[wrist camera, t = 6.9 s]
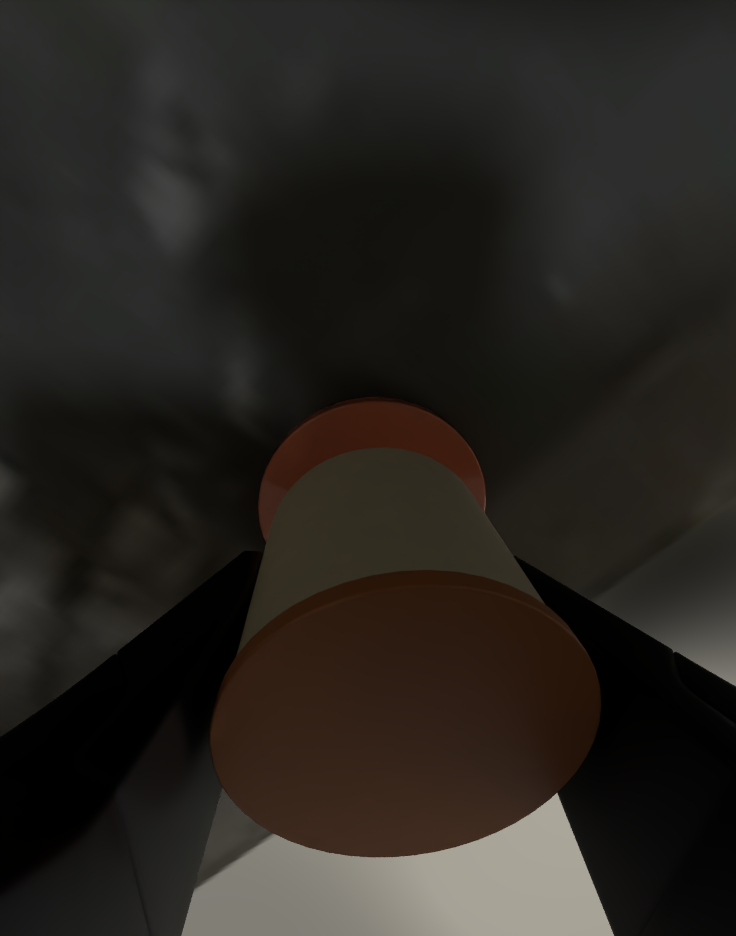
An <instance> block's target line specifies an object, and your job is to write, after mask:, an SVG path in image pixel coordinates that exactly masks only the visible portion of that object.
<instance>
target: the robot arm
mask: <svg viewBox="0 0 736 936" xmlns="http://www.w3.org/2000/svg"><path fill="white" fill-rule="evenodd" d="M263 554H264V552H263V551H244V552H242V553H241V554H240V555H238V556H237V557H236V558H235V559H233V560H232V561H231V562H230V563H228V564H227V565H226V566H225V567H223V568H222V569H221V570H219V571H218V572H217V573H216V574H214V575H213V576H212V577H211V578H209V579H208V580H207V581H206V582H204V583H203V584H202V585H201V586H199V587H198V588H197V589H196V590H194V591H193V592H192V593H191V594H189V595H188V596H187V597H185V598H184V599H183V600H182V601H180V602H179V603H178V604H177V605H175V606H174V607H173V608H172V609H170V610H169V611H168V612H167V613H165V614H164V615H163V616H162V617H160V618H159V619H158V620H157V621H155V622H154V623H153V624H151V625H150V626H149V627H148V628H146V629H145V630H144V631H143V632H141V633H140V634H139V635H138V636H136V637H135V638H134V639H133V640H131V641H130V642H129V643H128V644H126V645H125V646H124V647H123V648H121V649H120V650H119V651H118V652H117V655H116V654H114V655H112V656H111V657H110V658H108V659H107V660H106V661H105V662H103V663H102V664H101V665H100V666H98V667H97V668H96V669H95V670H93V671H92V672H91V673H89V674H88V675H87V676H85V677H84V678H83V679H81V680H80V681H79V682H77V683H76V684H75V685H74V686H72V687H71V688H70V689H68V690H67V691H66V692H64V693H63V694H62V695H60V696H59V697H57V698H56V699H54V700H53V701H52V702H50V703H49V704H47V705H46V706H45V707H43V708H42V709H40V710H39V711H37V712H36V713H35V714H33V715H32V716H30V717H29V718H27V719H26V720H25V721H23V722H22V723H20V724H19V725H17V726H16V727H14V728H13V729H11V730H10V731H8V732H7V733H6V734H4V735H3V736H1V737H0V936H181V934H182V931H183V927H184V924H185V920H186V916H187V913H188V909H189V905H190V902H191V898H192V895H193V891H194V887H195V884H196V880H197V876H198V873H199V869H200V865H201V862H202V858H203V855H204V851H205V847H206V844H207V840H208V836H209V833H210V829H211V825H212V822H213V818H214V815H215V811H216V807H217V804H218V800H219V796H220V793H221V789H222V785H221V784H220V782H219V779H218V777H217V774H216V772H215V770H214V767H213V763H212V758H211V753H210V748H209V727H210V722H211V717H212V712H213V708H214V704H215V701H216V697H217V694H218V691H219V689H220V686H221V683H222V681H223V678H224V676H225V674H226V672H227V670H228V669H229V667H230V665H231V664H232V662H233V661H234V659H235V657H236V655H237V651H238V647H239V644H240V640H241V636H242V632H243V629H244V625H245V621H246V617H247V614H248V610H249V606H250V602H251V599H252V595H253V591H254V587H255V584H256V580H257V576H258V572H259V569H260V565H261V561H262V557H263ZM513 557H514V558H515V560H516V561H517V563H518V564H519V566H520V567H521V569H522V570H523V572H524V573H525V575H526V576H527V578H528V579H529V581H530V582H531V584H532V585H533V587H534V588H535V590H536V591H537V593H538V594H539V596H540V597H541V599H542V600H543V602H544V603H545V605H546V606H548V607H549V608H551V609H552V610H553V611H554V612H555V613H556V614H557V615H558V616H559V617H560V618H561V619H562V620H563V621H564V622H566V624H567V625H568V626H569V628H570V629H571V630H572V632H573V633H574V634H575V636H576V637H577V638H578V640H579V641H580V643H581V644H582V646H583V647H584V648H585V650H586V651H587V653H588V655H589V657H590V659H591V661H592V663H593V665H594V667H595V669H596V673H597V677H598V681H599V684H600V690H601V714H600V723H599V726H598V730H597V733H596V736H595V740H594V742H593V744H592V746H591V748H590V750H589V752H588V754H587V756H586V758H585V759H584V761H583V762H582V764H581V765H580V767H579V768H578V770H577V771H576V773H575V774H574V775H573V776H572V777H571V778H570V780H569V781H568V782H567V783H566V784H565V785H564V786H563V787H562V788H561V789H560V790H559V791H558V792H557V793H558V796H559V798H560V801H561V803H562V806H563V808H564V811H565V813H566V816H567V818H568V821H569V823H570V826H571V828H572V831H573V833H574V836H575V838H576V841H577V843H578V846H579V848H580V851H581V854H582V856H583V858H584V861H585V863H586V866H587V869H588V871H589V874H590V876H591V879H592V881H593V884H594V886H595V888H596V891H597V894H598V896H599V899H600V901H601V903H602V906H603V909H604V911H605V914H606V916H607V919H608V921H609V924H610V926H611V929H612V931H613V934H614V936H736V686H734V685H732V684H730V683H729V682H727V681H725V680H723V679H722V678H720V677H718V676H717V675H715V674H713V673H711V672H709V671H708V670H706V669H704V668H703V667H701V666H699V665H698V664H696V663H694V662H693V661H691V660H689V659H688V658H686V657H684V656H683V655H681V654H679V653H677V652H674V653H673V650H672V649H671V648H669V647H667V646H666V645H664V644H662V643H661V642H659V641H657V640H655V639H654V638H652V637H650V636H649V635H647V634H646V633H644V632H642V631H640V630H639V629H637V628H635V627H634V626H632V625H630V624H629V623H627V622H625V621H623V620H622V619H620V618H619V617H617V616H615V615H614V614H612V613H610V612H609V611H607V610H605V609H604V608H602V607H600V606H598V605H597V604H595V603H593V602H592V601H590V600H588V599H587V598H585V597H583V596H582V595H580V594H578V593H577V592H575V591H573V590H572V589H570V588H568V587H567V586H565V585H563V584H562V583H560V582H558V581H557V580H555V579H553V578H551V577H550V576H548V575H546V574H545V573H543V572H541V571H540V570H538V569H536V568H535V567H533V566H531V565H530V564H528V563H526V562H525V561H523V560H521V559H520V558H518V557H516V556H513Z"/></svg>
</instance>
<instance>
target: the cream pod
mask: <svg viewBox="0 0 736 936" xmlns="http://www.w3.org/2000/svg"><path fill="white" fill-rule="evenodd" d="M600 714H601V690H600V684H599V681H598V677H597V673H596V669H595V667H594V665H593V663H592V661H591V659H590V657H589V655H588V653H587V651H586V650H585V648H584V647H583V646H582V644H581V643H580V641H579V640H578V638H577V637H576V636H575V634H574V633H573V632H572V630H571V629H570V628H569V626H568V625H567V624H566V622H564V621H563V620H562V619H561V618H560V617H559V616H558V615H557V614H556V613H555V612H554V611H553V610H552V609H551V608H549V607H548V606H546V605H545V603H544V602H543V600H542V599H541V597H540V596H539V594H538V593H537V591H536V590H535V588H534V587H533V585H532V584H531V582H530V581H529V579H528V578H527V576H526V575H525V573H524V572H523V570H522V569H521V567H520V566H519V564H518V563H517V561H516V560H515V558H514V557H513V555H512V554H511V552H510V551H509V549H508V548H507V546H506V545H505V543H504V542H503V540H502V538H501V537H500V535H499V534H498V532H497V531H496V529H495V528H494V526H493V525H492V523H491V522H490V520H489V519H488V517H487V516H486V514H485V513H484V511H483V510H482V508H481V507H480V505H479V504H478V502H477V501H476V499H475V498H474V496H473V495H472V493H471V492H470V490H469V489H468V488H467V486H466V485H465V484H464V482H463V481H462V480H461V479H460V478H459V477H458V476H457V475H456V474H455V473H454V472H452V471H451V470H450V469H448V468H447V467H445V466H444V465H443V464H441V463H439V462H437V461H435V460H434V459H432V458H430V457H427V456H424V455H422V454H419V453H417V452H412V451H408V450H404V449H396V448H367V449H360V450H354V451H351V452H347V453H343V454H340V455H338V456H335V457H333V458H331V459H328V460H326V461H324V462H322V463H321V464H319V465H317V466H315V467H314V468H312V469H311V470H310V471H308V472H307V473H306V474H304V475H303V476H302V477H301V478H300V479H299V480H298V481H297V482H296V483H295V484H294V485H293V486H292V487H291V488H290V489H289V491H288V492H287V493H286V495H285V496H284V497H283V499H282V501H281V502H280V504H279V506H278V508H277V510H276V512H275V515H274V518H273V520H272V524H271V527H270V531H269V535H268V539H267V542H266V546H265V550H264V554H263V557H262V561H261V565H260V569H259V572H258V576H257V580H256V584H255V587H254V591H253V595H252V599H251V602H250V606H249V610H248V614H247V617H246V621H245V625H244V629H243V632H242V636H241V640H240V644H239V647H238V651H237V655H236V657H235V659H234V661H233V662H232V664H231V665H230V667H229V669H228V670H227V672H226V674H225V676H224V678H223V681H222V683H221V686H220V689H219V691H218V694H217V697H216V701H215V704H214V708H213V712H212V717H211V722H210V727H209V748H210V753H211V758H212V763H213V767H214V770H215V772H216V774H217V777H218V779H219V782H220V784H221V785H222V787H223V788H224V790H225V791H226V793H227V794H228V796H229V798H230V799H231V800H232V801H233V802H234V803H235V804H236V805H237V806H238V807H239V809H240V810H241V811H242V812H244V813H245V814H246V815H247V816H248V817H250V818H251V819H252V820H253V821H255V822H256V823H257V824H259V825H261V826H262V827H264V828H265V829H267V830H269V831H270V832H272V833H274V834H276V835H278V836H280V837H282V838H284V839H287V840H289V841H291V842H294V843H297V844H300V845H303V846H305V847H308V848H312V849H316V850H321V851H325V852H329V853H335V854H342V855H348V856H360V857H399V856H410V855H418V854H424V853H431V852H436V851H441V850H445V849H449V848H453V847H457V846H460V845H463V844H467V843H470V842H473V841H476V840H479V839H481V838H484V837H486V836H488V835H491V834H493V833H496V832H498V831H500V830H502V829H504V828H506V827H508V826H510V825H512V824H514V823H516V822H517V821H519V820H521V819H522V818H524V817H525V816H527V815H529V814H530V813H532V812H533V811H535V810H536V809H537V808H539V807H540V806H541V805H543V804H544V803H545V802H547V801H548V800H549V799H550V798H552V796H554V795H555V794H556V793H557V792H558V791H559V790H560V789H561V788H562V787H563V786H564V785H565V784H566V783H567V782H568V781H569V780H570V778H571V777H572V776H573V775H574V774H575V773H576V771H577V770H578V768H579V767H580V765H581V764H582V762H583V761H584V759H585V758H586V756H587V754H588V752H589V750H590V748H591V746H592V744H593V742H594V740H595V736H596V733H597V730H598V726H599V723H600Z"/></svg>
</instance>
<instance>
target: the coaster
mask: <svg viewBox="0 0 736 936" xmlns="http://www.w3.org/2000/svg"><path fill="white" fill-rule="evenodd" d="M367 448H396V449H404V450H408V451H412V452H417V453H419V454H422V455H424V456H427V457H430V458H432V459H434V460H435V461H437V462H439V463H441V464H443V465H444V466H445V467H447V468H448V469H450V470H451V471H452V472H454V473H455V474H456V475H457V476H458V477H459V478H460V479H461V480H462V481H463V482H464V484H465V485H466V486H467V488H468V489H469V490H470V492H471V493H472V495H473V496H474V498H475V499H476V501H477V502H478V504H479V505H480V507H481V508H482V510H483V511H484V513H485V506H486V488H485V482H484V477H483V473H482V470H481V467H480V464H479V462H478V460H477V458H476V456H475V454H474V452H473V450H472V449H471V447H470V446H469V445H468V443H467V442H466V440H465V439H464V438H463V437H462V436H461V434H460V433H459V432H458V431H457V430H456V429H455V428H454V427H453V426H452V425H451V424H450V423H448V422H447V421H446V420H444V419H443V418H442V417H441V416H439V415H438V414H436V413H434V412H432V411H431V410H429V409H427V408H425V407H422V406H420V405H417V404H415V403H412V402H409V401H405V400H401V399H396V398H387V397H362V398H356V399H349V400H346V401H342V402H338V403H335V404H332V405H330V406H328V407H325V408H323V409H321V410H319V411H317V412H315V413H313V414H312V415H310V416H308V417H307V418H305V419H304V420H303V421H301V422H300V423H299V424H298V425H296V426H295V427H294V428H293V429H292V430H291V431H290V432H289V433H288V434H287V435H286V436H285V437H284V438H283V440H282V441H281V442H280V444H279V445H278V446H277V448H276V449H275V451H274V453H273V455H272V456H271V458H270V460H269V462H268V465H267V467H266V470H265V473H264V476H263V478H262V481H261V486H260V491H259V497H258V514H259V523H260V526H261V530H262V534H263V537H264V539H265V542H267V539H268V535H269V531H270V527H271V524H272V520H273V518H274V515H275V512H276V510H277V508H278V506H279V504H280V502H281V501H282V499H283V497H284V496H285V495H286V493H287V492H288V491H289V489H290V488H291V487H292V486H293V485H294V484H295V483H296V482H297V481H298V480H299V479H300V478H301V477H302V476H303V475H304V474H306V473H307V472H308V471H310V470H311V469H312V468H314V467H315V466H317V465H319V464H321V463H322V462H324V461H326V460H328V459H331V458H333V457H335V456H338V455H340V454H343V453H347V452H351V451H354V450H360V449H367Z"/></svg>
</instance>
